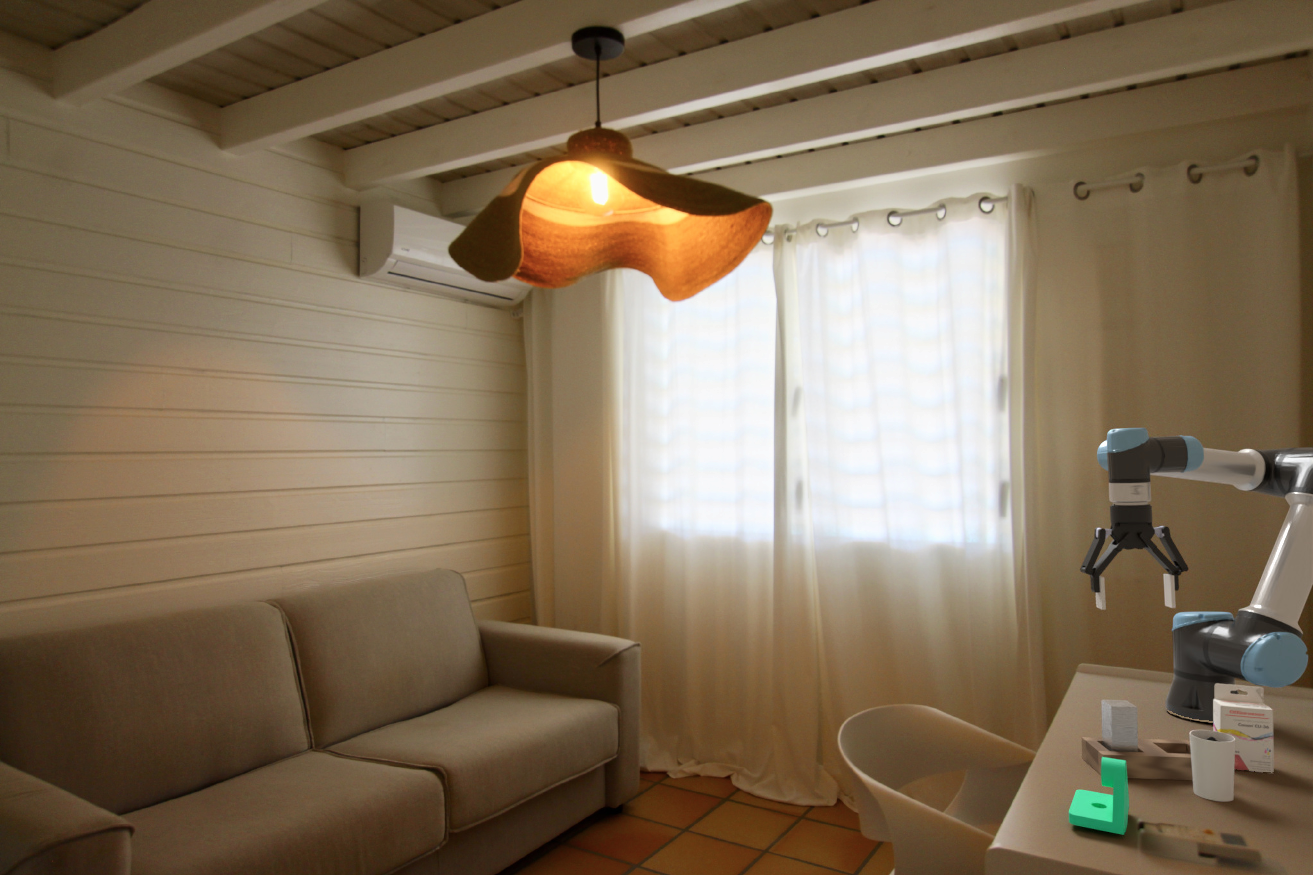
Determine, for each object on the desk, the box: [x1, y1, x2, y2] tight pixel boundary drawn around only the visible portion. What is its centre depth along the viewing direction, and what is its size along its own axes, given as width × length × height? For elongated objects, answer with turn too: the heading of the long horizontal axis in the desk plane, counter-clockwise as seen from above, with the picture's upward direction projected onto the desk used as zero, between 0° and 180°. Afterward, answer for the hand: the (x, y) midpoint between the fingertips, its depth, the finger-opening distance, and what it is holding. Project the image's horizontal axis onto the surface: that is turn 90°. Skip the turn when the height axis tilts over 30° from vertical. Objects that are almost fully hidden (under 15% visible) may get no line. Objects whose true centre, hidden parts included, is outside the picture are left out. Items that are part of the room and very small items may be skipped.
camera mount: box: [1068, 757, 1130, 836], centre depth 136 cm, size 12×8×10 cm, turn 148°
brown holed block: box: [1081, 736, 1193, 781], centre depth 159 cm, size 20×10×4 cm, turn 84°
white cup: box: [1188, 729, 1235, 802], centre depth 147 cm, size 7×7×10 cm
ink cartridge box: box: [1212, 683, 1275, 774], centre depth 160 cm, size 9×5×15 cm, turn 71°
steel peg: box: [1100, 699, 1139, 752], centre depth 159 cm, size 4×4×12 cm
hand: (1135, 607), depth 175 cm, fingers open, 13 cm apart
